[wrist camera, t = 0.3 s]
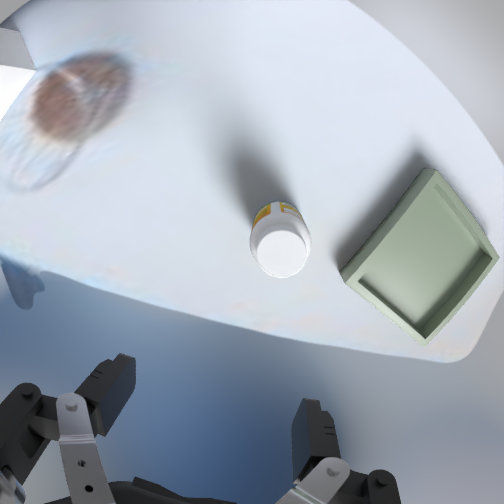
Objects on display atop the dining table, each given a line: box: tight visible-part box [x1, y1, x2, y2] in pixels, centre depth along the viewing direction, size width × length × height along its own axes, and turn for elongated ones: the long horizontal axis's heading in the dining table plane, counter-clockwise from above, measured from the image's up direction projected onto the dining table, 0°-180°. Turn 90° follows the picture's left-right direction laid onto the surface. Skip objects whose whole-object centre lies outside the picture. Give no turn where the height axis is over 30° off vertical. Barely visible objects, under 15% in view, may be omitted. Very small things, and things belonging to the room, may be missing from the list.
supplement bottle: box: [250, 201, 311, 278], centre depth 28 cm, size 5×5×10 cm
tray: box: [339, 168, 500, 348], centre depth 31 cm, size 16×16×3 cm
